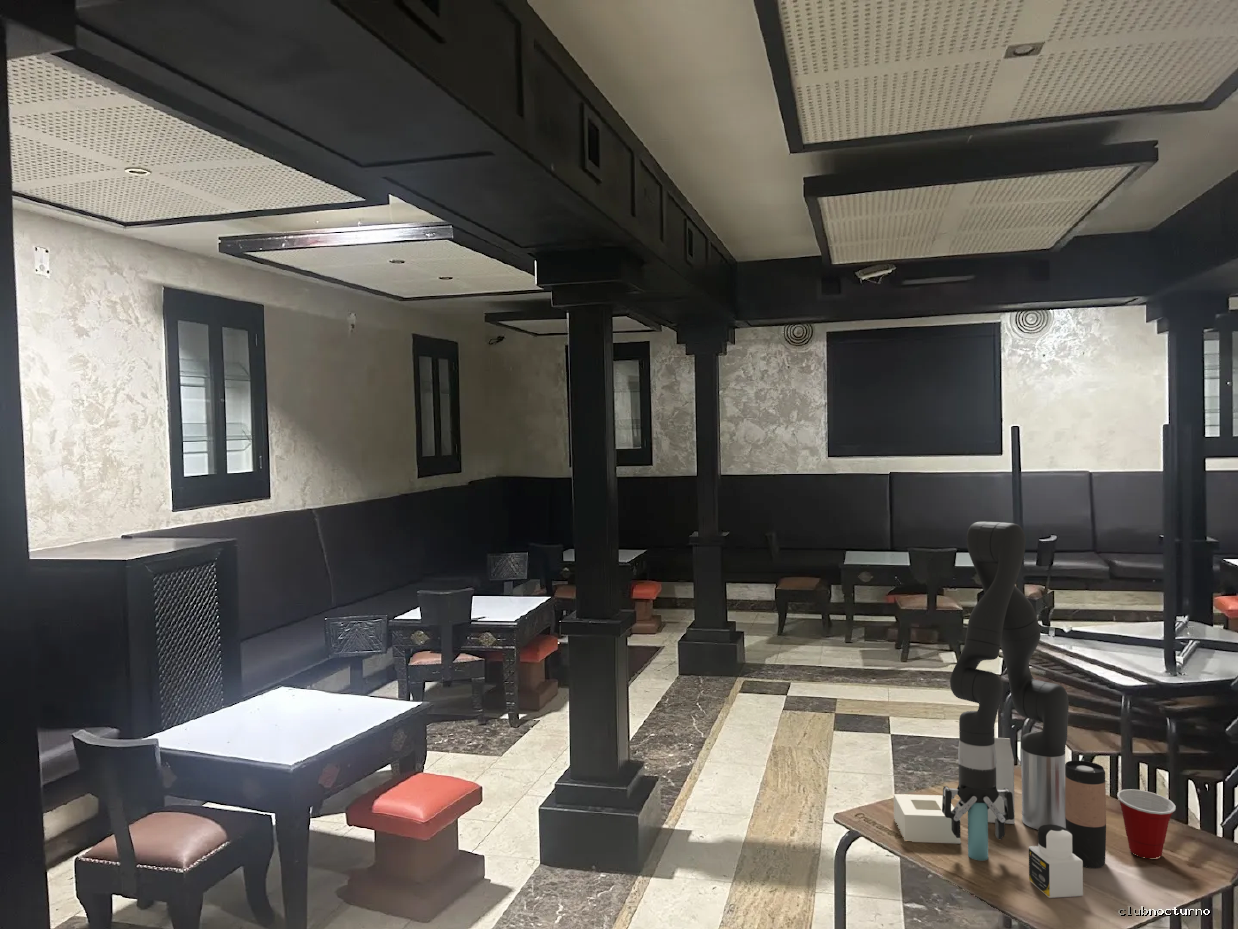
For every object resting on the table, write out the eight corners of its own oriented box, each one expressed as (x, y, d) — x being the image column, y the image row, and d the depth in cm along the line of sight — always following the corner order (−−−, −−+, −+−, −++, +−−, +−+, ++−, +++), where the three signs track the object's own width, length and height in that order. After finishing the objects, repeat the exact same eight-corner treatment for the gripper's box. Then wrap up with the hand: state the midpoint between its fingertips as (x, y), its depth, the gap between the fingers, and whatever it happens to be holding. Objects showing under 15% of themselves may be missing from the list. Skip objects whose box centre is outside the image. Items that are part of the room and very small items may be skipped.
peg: (984, 852, 186) (984, 797, 186) (990, 861, 183) (990, 804, 182) (965, 851, 187) (965, 796, 187) (971, 860, 183) (970, 804, 183)
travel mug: (1057, 856, 184) (1056, 763, 184) (1082, 849, 187) (1081, 758, 187) (1089, 872, 177) (1088, 775, 177) (1115, 864, 180) (1114, 769, 180)
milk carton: (1014, 824, 200) (1013, 743, 200) (982, 822, 202) (981, 742, 202) (1007, 812, 207) (1006, 734, 207) (976, 810, 209) (975, 732, 209)
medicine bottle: (1028, 881, 174) (1027, 822, 174) (1061, 879, 174) (1061, 820, 174) (1048, 899, 167) (1048, 837, 167) (1083, 896, 167) (1083, 835, 167)
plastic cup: (1152, 870, 178) (1152, 812, 178) (1105, 848, 188) (1105, 793, 188) (1188, 860, 182) (1188, 804, 182) (1140, 839, 192) (1140, 786, 192)
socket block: (946, 821, 203) (945, 795, 203) (960, 843, 191) (960, 816, 191) (893, 819, 204) (893, 794, 204) (905, 841, 192) (904, 814, 192)
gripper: (1005, 757, 188) (1006, 831, 188) (938, 755, 189) (939, 828, 189) (1017, 769, 180) (1018, 846, 180) (947, 767, 182) (948, 844, 182)
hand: (977, 837), depth 185 cm, fingers open, 8 cm apart
